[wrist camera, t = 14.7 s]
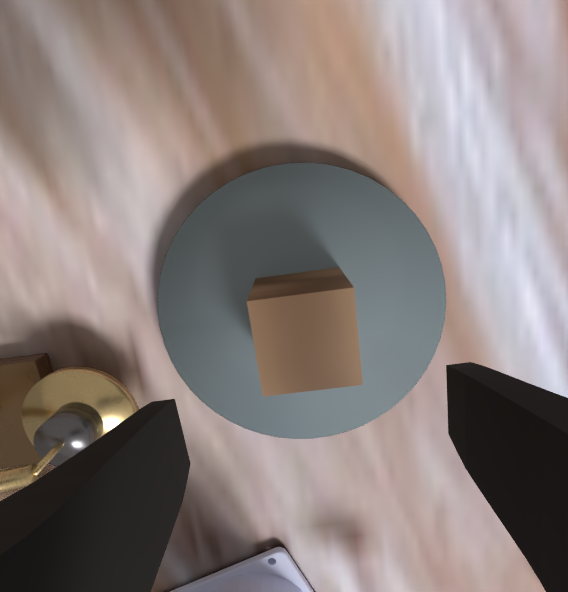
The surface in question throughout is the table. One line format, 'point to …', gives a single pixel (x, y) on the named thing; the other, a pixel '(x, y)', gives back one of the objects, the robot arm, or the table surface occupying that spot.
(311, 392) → the dish
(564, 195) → the table surface
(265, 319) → the block
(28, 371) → the balance
